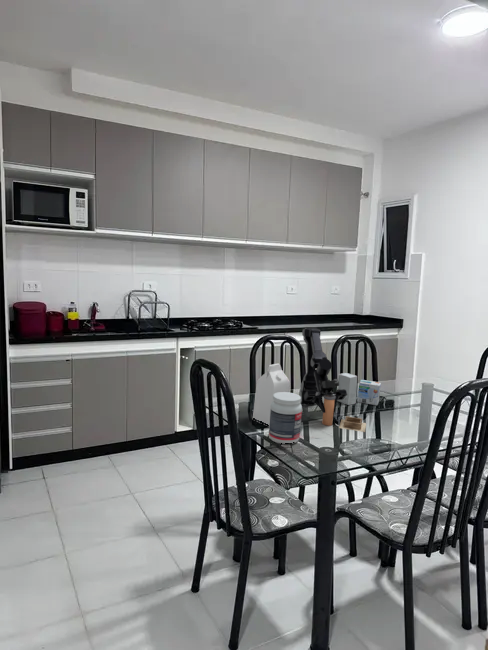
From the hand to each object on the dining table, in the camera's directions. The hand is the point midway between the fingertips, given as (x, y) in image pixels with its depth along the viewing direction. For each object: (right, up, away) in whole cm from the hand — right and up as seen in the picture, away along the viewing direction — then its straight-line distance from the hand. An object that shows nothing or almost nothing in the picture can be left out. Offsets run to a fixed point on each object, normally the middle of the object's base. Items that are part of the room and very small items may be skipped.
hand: (329, 412), depth 201 cm
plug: (-1, -6, +2) cm, 7 cm away
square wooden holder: (+11, -8, +2) cm, 13 cm away
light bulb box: (+28, -2, +41) cm, 49 cm away
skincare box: (+16, -2, +38) cm, 41 cm away
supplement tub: (-21, -9, -13) cm, 26 cm away
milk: (-25, -5, +7) cm, 27 cm away
